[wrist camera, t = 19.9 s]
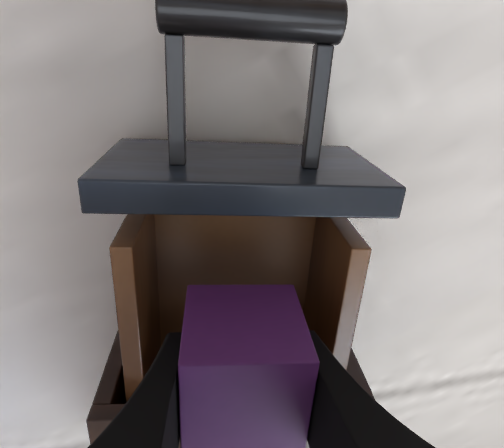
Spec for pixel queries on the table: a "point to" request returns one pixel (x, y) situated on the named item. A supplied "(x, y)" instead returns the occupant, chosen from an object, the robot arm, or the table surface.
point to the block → (245, 368)
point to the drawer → (238, 195)
